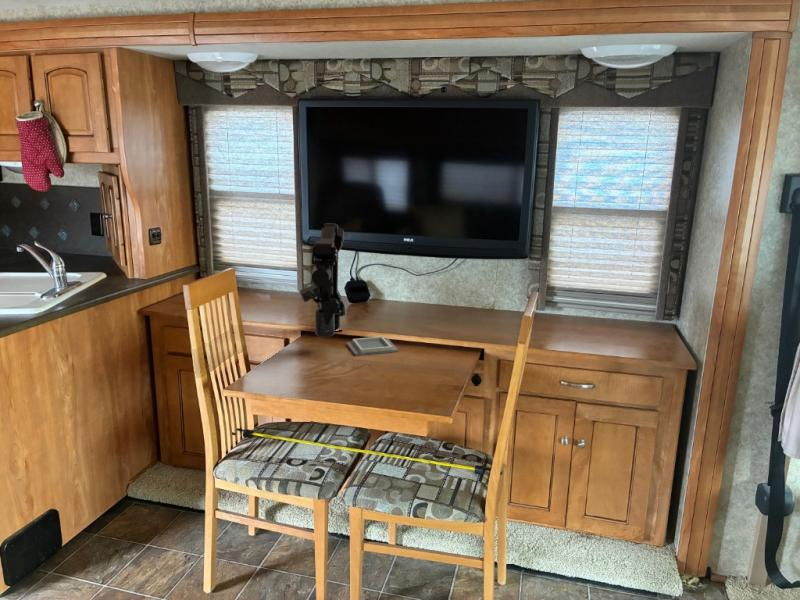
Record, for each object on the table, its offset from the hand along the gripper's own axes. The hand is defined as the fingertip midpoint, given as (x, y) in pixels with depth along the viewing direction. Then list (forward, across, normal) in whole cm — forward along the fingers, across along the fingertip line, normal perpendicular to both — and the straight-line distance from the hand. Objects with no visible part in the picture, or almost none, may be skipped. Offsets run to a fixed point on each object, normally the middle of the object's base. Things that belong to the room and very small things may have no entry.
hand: (324, 321), depth 215 cm
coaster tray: (+11, +2, +17) cm, 20 cm away
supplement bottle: (+5, 0, 0) cm, 5 cm away
